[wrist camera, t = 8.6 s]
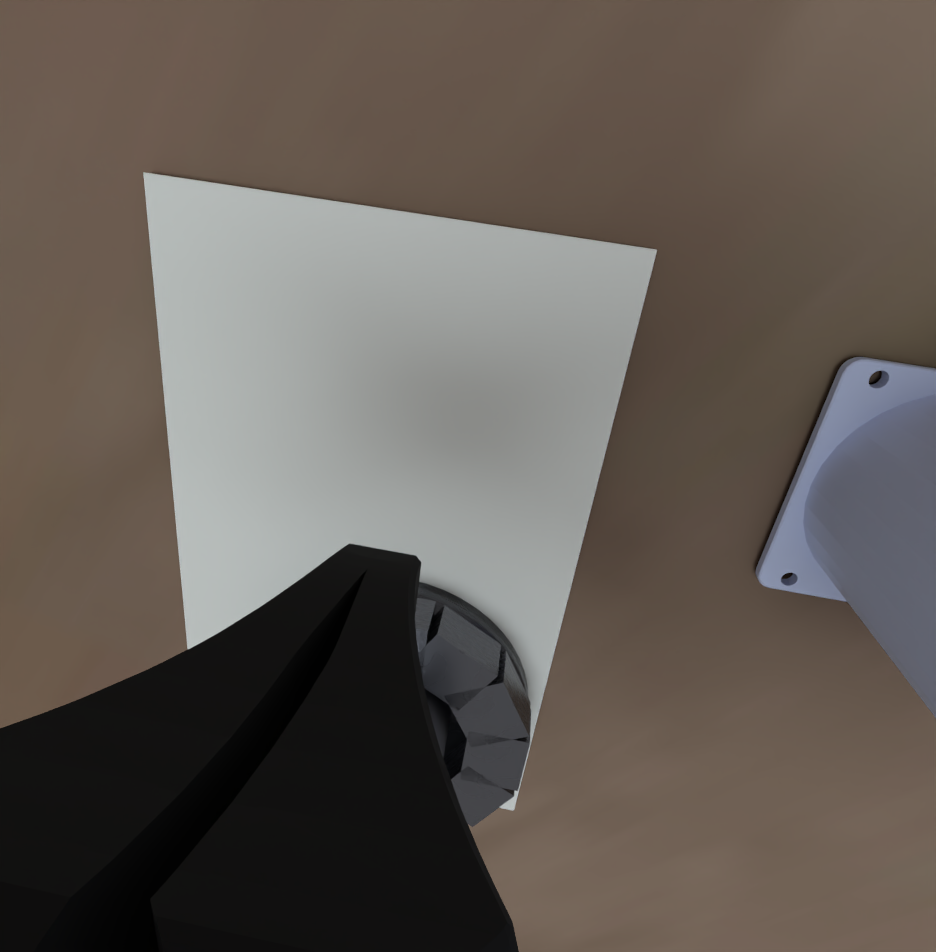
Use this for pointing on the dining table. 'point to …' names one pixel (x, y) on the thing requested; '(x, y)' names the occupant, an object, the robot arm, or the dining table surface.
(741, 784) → the dining table surface
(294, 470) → the mat
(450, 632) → the toothed grey gear
